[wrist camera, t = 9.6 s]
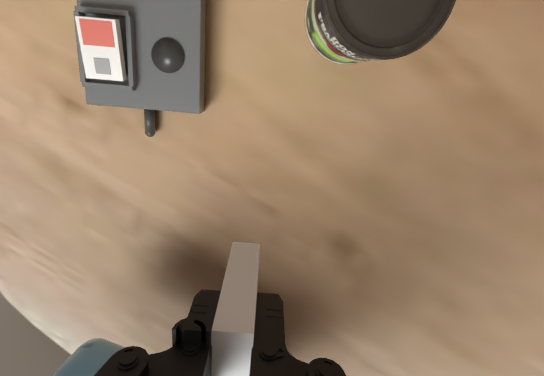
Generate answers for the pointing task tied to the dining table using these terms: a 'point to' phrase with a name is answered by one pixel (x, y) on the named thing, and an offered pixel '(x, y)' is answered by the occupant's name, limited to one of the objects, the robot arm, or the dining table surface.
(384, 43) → the coffee can
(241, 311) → the robot arm
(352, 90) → the dining table surface
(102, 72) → the rocker
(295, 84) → the dining table surface
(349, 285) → the dining table surface
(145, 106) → the rocker switch panel
